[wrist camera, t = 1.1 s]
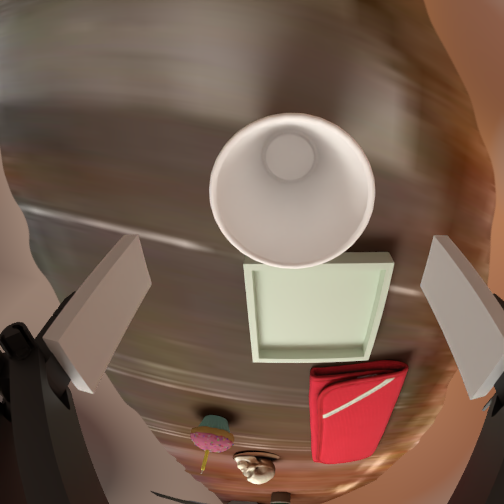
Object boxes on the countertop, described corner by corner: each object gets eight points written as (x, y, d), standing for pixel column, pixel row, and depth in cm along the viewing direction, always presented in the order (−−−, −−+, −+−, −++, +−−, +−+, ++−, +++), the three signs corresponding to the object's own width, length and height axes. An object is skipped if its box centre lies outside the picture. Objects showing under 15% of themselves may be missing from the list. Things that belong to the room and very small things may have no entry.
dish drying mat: (311, 456, 62) (311, 468, 59) (306, 365, 42) (306, 385, 39) (372, 449, 59) (373, 461, 56) (407, 352, 39) (413, 371, 36)
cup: (357, 125, 24) (400, 150, 15) (321, 218, 29) (337, 286, 20) (252, 90, 24) (231, 91, 14) (224, 189, 29) (194, 245, 19)
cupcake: (227, 432, 56) (218, 480, 46) (189, 419, 55) (177, 469, 44) (243, 418, 52) (235, 473, 41) (202, 405, 50) (189, 460, 40)
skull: (225, 462, 66) (228, 482, 56) (239, 433, 68) (244, 451, 58) (265, 472, 67) (273, 491, 57) (280, 444, 69) (290, 461, 59)
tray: (245, 252, 32) (243, 264, 30) (388, 252, 30) (394, 262, 29) (254, 349, 40) (253, 362, 38) (365, 348, 38) (368, 360, 36)
